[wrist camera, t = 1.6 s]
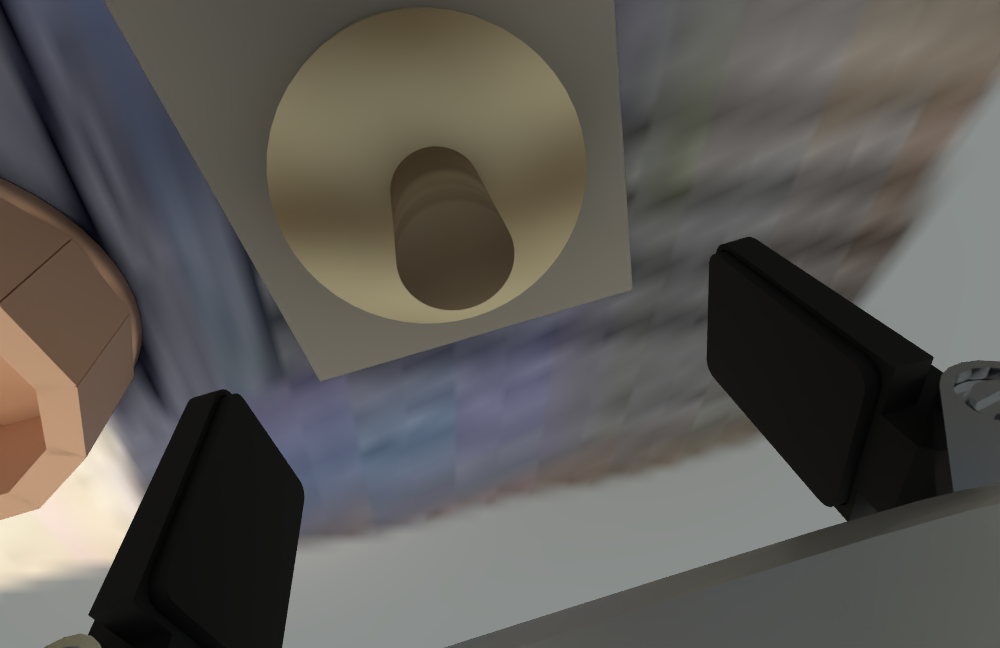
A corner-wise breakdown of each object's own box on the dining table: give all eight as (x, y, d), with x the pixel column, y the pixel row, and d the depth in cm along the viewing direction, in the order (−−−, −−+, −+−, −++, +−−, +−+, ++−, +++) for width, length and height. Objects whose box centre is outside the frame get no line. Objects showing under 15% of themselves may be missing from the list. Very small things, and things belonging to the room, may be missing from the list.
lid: (207, 58, 15) (121, 101, 10) (552, -34, 15) (641, -40, 10) (345, 337, 21) (337, 452, 16) (589, 265, 21) (656, 354, 16)
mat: (113, 0, 14) (104, 1, 14) (598, -124, 15) (606, -127, 14) (321, 372, 22) (320, 381, 22) (627, 282, 23) (632, 289, 22)
